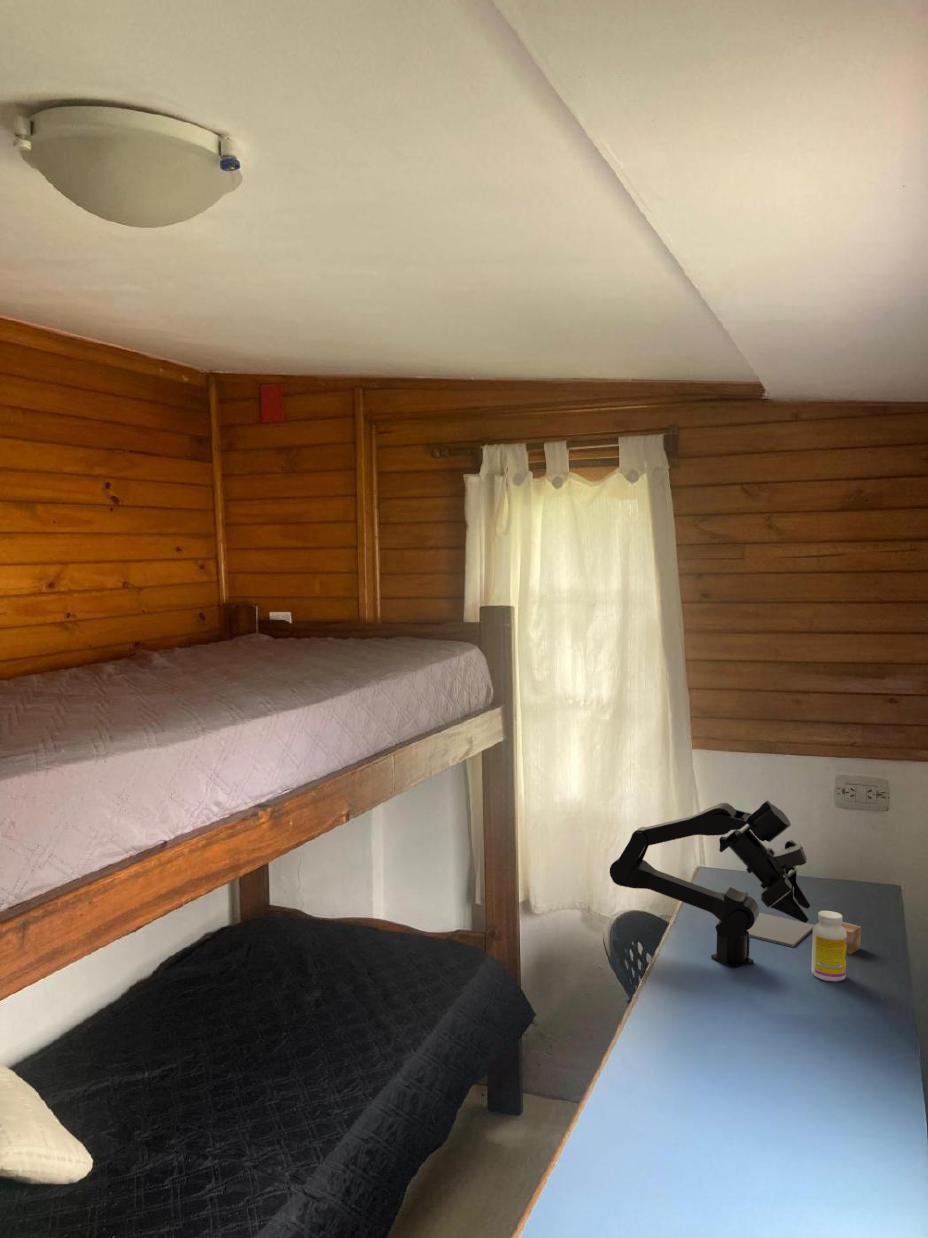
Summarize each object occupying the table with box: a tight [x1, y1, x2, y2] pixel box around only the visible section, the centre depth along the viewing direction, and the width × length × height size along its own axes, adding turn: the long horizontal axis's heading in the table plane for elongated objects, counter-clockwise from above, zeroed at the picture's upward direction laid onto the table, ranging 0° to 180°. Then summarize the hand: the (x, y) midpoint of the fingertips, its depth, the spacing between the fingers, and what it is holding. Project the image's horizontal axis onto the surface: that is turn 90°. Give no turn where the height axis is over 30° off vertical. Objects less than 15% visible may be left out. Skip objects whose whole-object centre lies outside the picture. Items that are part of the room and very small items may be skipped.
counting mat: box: [746, 912, 815, 948], centre depth 221 cm, size 16×16×1 cm
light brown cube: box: [841, 921, 862, 955], centre depth 210 cm, size 5×5×5 cm
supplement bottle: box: [811, 910, 847, 982], centre depth 194 cm, size 7×7×13 cm
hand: (807, 914), depth 196 cm, fingers open, 9 cm apart
